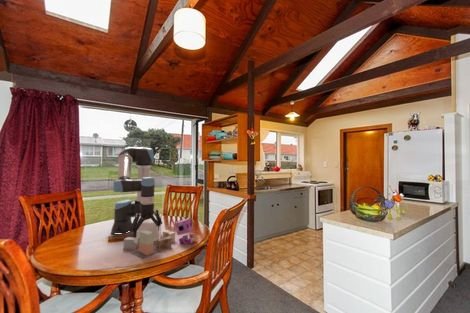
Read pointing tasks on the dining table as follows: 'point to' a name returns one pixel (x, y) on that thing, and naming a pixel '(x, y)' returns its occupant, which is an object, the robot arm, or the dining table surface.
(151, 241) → the sage brick
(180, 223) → the toy
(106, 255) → the dining table surface
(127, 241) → the grey brick
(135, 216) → the robot arm
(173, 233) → the maple brick
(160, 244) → the walnut brick
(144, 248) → the terracotta brick
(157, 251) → the felt mat
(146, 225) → the castle model
